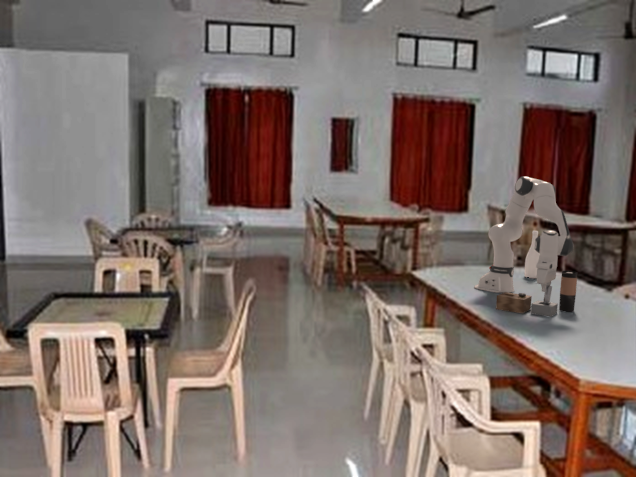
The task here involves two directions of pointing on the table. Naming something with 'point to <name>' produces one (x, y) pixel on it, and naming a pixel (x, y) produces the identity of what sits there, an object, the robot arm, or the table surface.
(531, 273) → the wine bottle
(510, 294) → the socket block
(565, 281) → the travel mug
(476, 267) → the table surface
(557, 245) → the robot arm
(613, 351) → the table surface
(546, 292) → the grey tapered rounded rod
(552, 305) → the grey square ring block
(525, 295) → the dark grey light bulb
